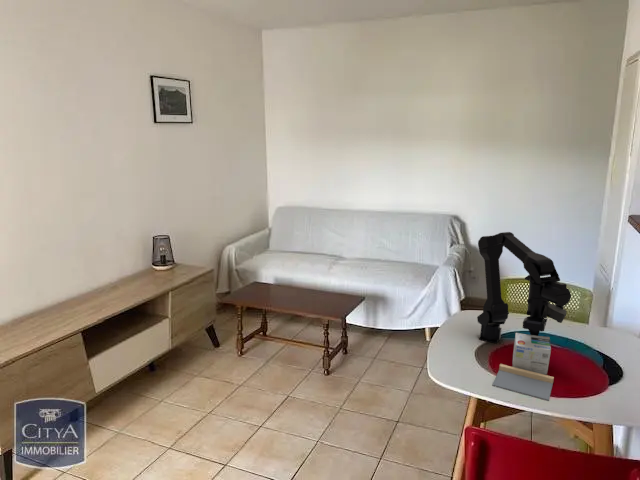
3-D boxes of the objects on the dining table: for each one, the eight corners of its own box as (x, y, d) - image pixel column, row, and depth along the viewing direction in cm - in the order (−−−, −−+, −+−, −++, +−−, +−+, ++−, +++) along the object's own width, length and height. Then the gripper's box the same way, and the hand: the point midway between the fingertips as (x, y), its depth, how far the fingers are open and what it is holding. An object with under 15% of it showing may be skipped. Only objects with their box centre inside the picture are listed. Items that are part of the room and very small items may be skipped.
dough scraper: (492, 385, 146) (492, 380, 146) (499, 369, 156) (500, 363, 156) (548, 400, 138) (549, 395, 138) (553, 382, 148) (553, 376, 148)
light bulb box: (546, 361, 158) (550, 336, 153) (547, 375, 153) (552, 350, 147) (511, 356, 162) (515, 331, 156) (511, 369, 156) (515, 344, 151)
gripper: (564, 309, 141) (559, 357, 145) (567, 291, 157) (563, 335, 160) (524, 303, 147) (520, 349, 150) (531, 286, 163) (528, 329, 166)
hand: (534, 340), depth 157 cm, fingers closed
